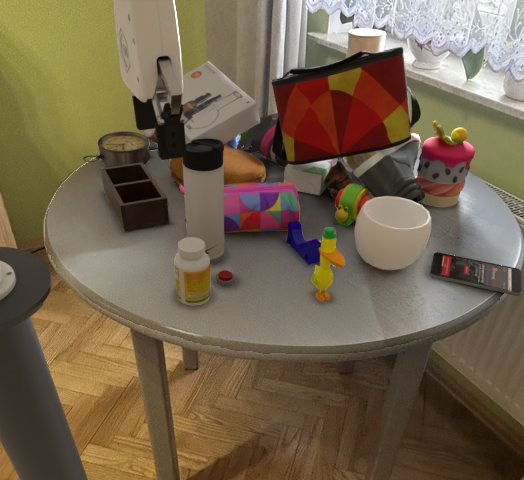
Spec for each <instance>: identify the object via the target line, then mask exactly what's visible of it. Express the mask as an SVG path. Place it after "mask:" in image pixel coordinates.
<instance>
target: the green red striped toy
mask: <svg viewBox="0 0 524 480" xmlns="http://www.w3.org/2000/svg"><path fill="white" fill-rule="evenodd" d="M373 198H375V197H374V196H373V195H372V194H371V193H370V192H369V190H368V189H367V188H366V187H365V186H364V185H363V184H358V183H356V182H353V183H352V184H349V185H347V186H346V187H345V188H343V189H341V190H340V191H339V192H338V194H337V196H336V199H335V201H334V207H335V208H336V209H337V210H336V211H335V214H334V218H335V223H336V224H339V225H341V226H345V227H349V226H350V225H352V224H353V223H354V222H356V219H357V216H358V214H359V212H360V210H361V208H362V206H363V205H364V204H365V203H366V201H368V200H370V199H373Z"/></svg>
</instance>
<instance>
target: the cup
mask: <svg viewBox="0 0 524 480" xmlns="http://www.w3.org/2000/svg"><path fill="white" fill-rule="evenodd" d="M431 231H432V217H431V214H430V211H429V210H428V209H427V208H426V207H424V206H423V204H420V203H419V202H418V203H416V202H414V201H412V200H409V199H405V198H401V197H392V196H383V197H375V198H373V199H370V200H368V201H366V203H365V204H364V205H363V206H362V208H361V210H360V212H359V214H358V216H357V219H356V221H355V226H354V240H355V248H356V251H357V253H358V254H359V256H360V257H361V259H362V260H363V261H364V262H365V263H367V264H369V265H370V266H371V267H374V269H377V270H381V271H388V272H389V271H397V270H402V269H405V268H406V267H408V266H411V265H412V264H413V263H415V262H416V261H417V260H418V259H419V258H420V256H421V254H422V253H423V252H424V251H425V248H426V246H427V244H428V242H429V238H430V235H431Z"/></svg>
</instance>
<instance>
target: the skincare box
mask: <svg viewBox="0 0 524 480" xmlns="http://www.w3.org/2000/svg"><path fill="white" fill-rule="evenodd" d="M161 92H166V91H158V92H156V93H161ZM165 103H168V102H161V103H160V104H161V108H162V112H163V107H164V104H165ZM181 104H183V106H182V107H183V108H184V110H183V115H184V128H185V141H186V144H187V143H191V141H192V140H196V139H203V138H212V139H218V140H220V141H222V142H223V144H225V143H227V142H228V141H230V140H232V139H233V138H235V137H237V136H238V135H239V136H241V133H243V132H245V131H247V130H248V129H250V128H252V127H253V126H255V125H257V124H259V123H260V117H261V116H260V114H259V109H258V105H257V104H258V103H257V102H256V101H255V100H254V99H253V98H252V97H250V96H249V95H248V94H247V93H246V92H245V91H244V90H243V89H241V88H240V87H239V86H238V85H237V84H236V83H234V82H233V80H231V79H230V78H229V77H228V76H227V75H225V73H223V72H222V71H220V69H218V68H217V66H215V65H214V64H212V62H210V61H209V60H208V61H206V62H205V63H203V64H200V65H199V66H197V67H195V68H193V69H192V70H189V71H188V72H186V73H185V74H183V93H182V103H181Z"/></svg>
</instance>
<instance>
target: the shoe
mask: <svg viewBox="0 0 524 480" xmlns="http://www.w3.org/2000/svg"><path fill="white" fill-rule="evenodd" d="M277 120H278V117H277V118H273V117H272V123H271V125H270V126H269V128H268V129H267V130H266V131H265V132H264V133H263V134H262V135H261V136H259V137H258V138H256V139H254V140H252V143H251V147H250V148H251V150H252V151H253V152H258V153H259V154H260V155H262V156H263V157H264V158H267V159H268V160H270V161H272V162H274V163H275V165H277V166H278V167H279V168H282V169H285V167H286V166H287V165H288V160H281V159H280V158H279V157H278V156H277V155H275V154H274V153H273V152H272V145H273V139H274V133H275V127H276V123H277ZM284 148H285V146H284V141H283V143H282V149H284Z"/></svg>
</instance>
